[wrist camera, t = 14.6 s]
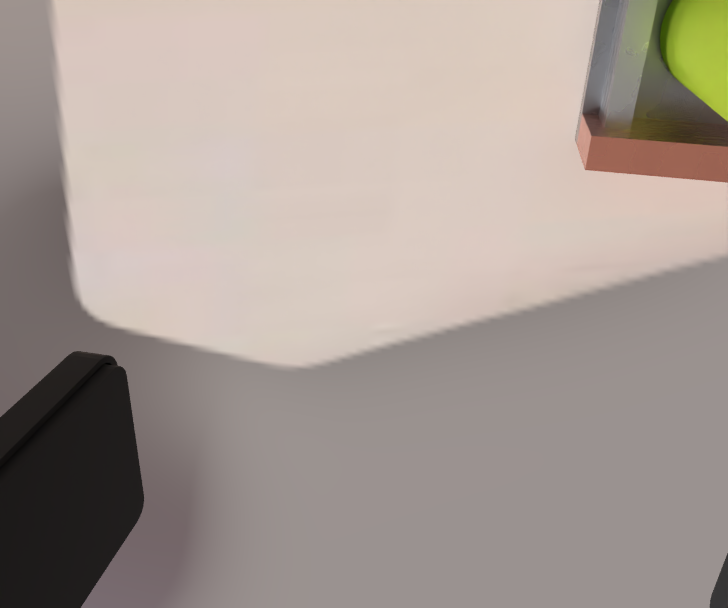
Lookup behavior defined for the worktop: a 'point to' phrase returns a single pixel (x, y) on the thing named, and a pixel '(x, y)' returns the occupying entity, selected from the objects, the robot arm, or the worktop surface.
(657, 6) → the grey slotted bracket
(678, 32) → the soap dispenser
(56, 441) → the robot arm
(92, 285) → the worktop surface
